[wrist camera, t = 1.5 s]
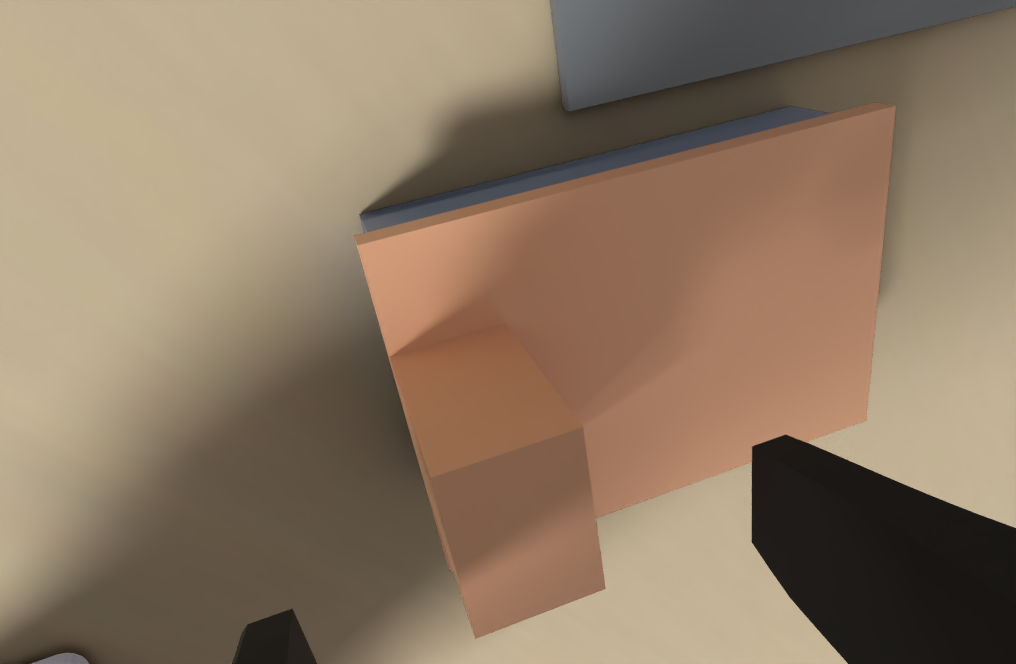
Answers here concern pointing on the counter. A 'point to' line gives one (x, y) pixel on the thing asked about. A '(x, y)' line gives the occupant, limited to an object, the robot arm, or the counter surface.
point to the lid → (628, 340)
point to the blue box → (581, 168)
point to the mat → (717, 37)
